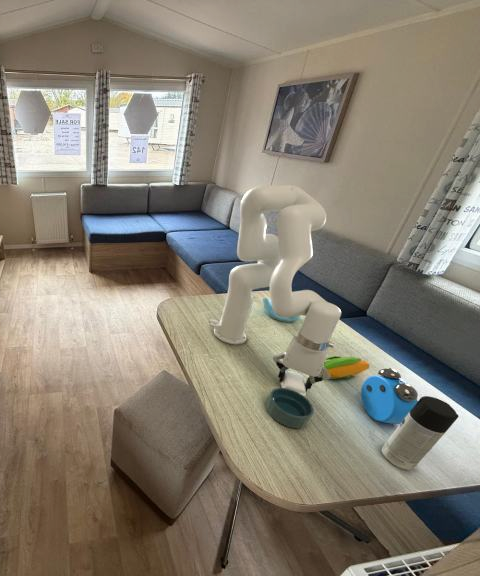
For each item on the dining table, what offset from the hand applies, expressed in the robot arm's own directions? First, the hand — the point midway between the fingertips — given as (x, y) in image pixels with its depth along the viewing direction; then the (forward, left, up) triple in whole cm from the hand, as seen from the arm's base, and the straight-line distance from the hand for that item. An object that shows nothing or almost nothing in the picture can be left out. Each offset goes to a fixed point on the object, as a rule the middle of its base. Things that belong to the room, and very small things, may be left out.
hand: (292, 384), depth 101 cm
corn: (+14, +19, -3) cm, 24 cm away
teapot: (-8, +50, -3) cm, 51 cm away
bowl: (0, -12, -2) cm, 12 cm away
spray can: (+26, -11, -3) cm, 28 cm away
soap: (0, 0, -1) cm, 1 cm away
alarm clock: (+23, +4, -3) cm, 23 cm away
